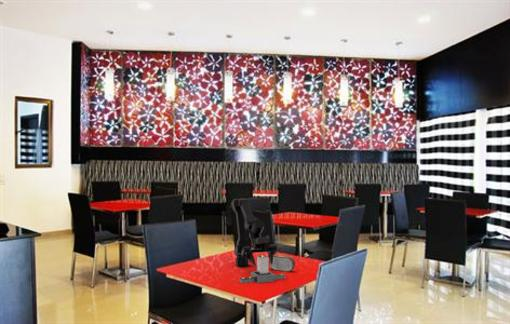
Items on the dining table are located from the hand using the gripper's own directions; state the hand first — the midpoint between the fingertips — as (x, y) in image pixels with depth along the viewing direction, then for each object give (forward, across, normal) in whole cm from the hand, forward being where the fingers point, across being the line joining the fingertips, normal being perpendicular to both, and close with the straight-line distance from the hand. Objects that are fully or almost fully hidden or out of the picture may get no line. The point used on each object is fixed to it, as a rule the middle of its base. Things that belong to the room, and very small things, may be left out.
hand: (263, 264), depth 227 cm
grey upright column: (+5, 0, +7) cm, 8 cm away
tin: (-5, +17, +17) cm, 24 cm away
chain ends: (+5, 0, +7) cm, 8 cm away
